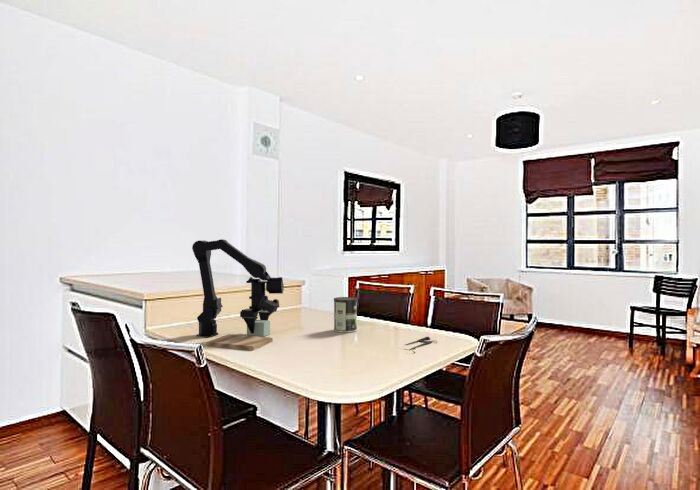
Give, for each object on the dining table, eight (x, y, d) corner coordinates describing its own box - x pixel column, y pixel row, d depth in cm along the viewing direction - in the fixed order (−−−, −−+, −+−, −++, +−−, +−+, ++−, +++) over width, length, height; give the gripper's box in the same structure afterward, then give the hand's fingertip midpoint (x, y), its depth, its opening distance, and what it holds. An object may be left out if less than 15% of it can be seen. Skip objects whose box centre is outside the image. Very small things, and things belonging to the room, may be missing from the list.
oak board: (206, 345, 161) (206, 341, 161) (228, 337, 174) (228, 334, 174) (253, 350, 154) (253, 346, 154) (272, 341, 168) (272, 337, 167)
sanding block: (246, 336, 178) (246, 321, 177) (253, 333, 182) (253, 319, 182) (263, 337, 175) (263, 322, 175) (270, 334, 180) (269, 320, 180)
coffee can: (357, 327, 194) (357, 296, 193) (356, 332, 183) (357, 300, 183) (334, 327, 194) (334, 296, 194) (332, 332, 184) (332, 299, 183)
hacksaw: (426, 339, 174) (427, 335, 174) (449, 344, 166) (449, 340, 166) (388, 350, 157) (388, 346, 157) (410, 355, 149) (410, 351, 149)
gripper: (264, 297, 167) (264, 337, 167) (286, 291, 185) (286, 327, 185) (239, 296, 170) (239, 335, 171) (263, 290, 188) (263, 326, 188)
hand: (258, 331), depth 179 cm, fingers open, 9 cm apart
